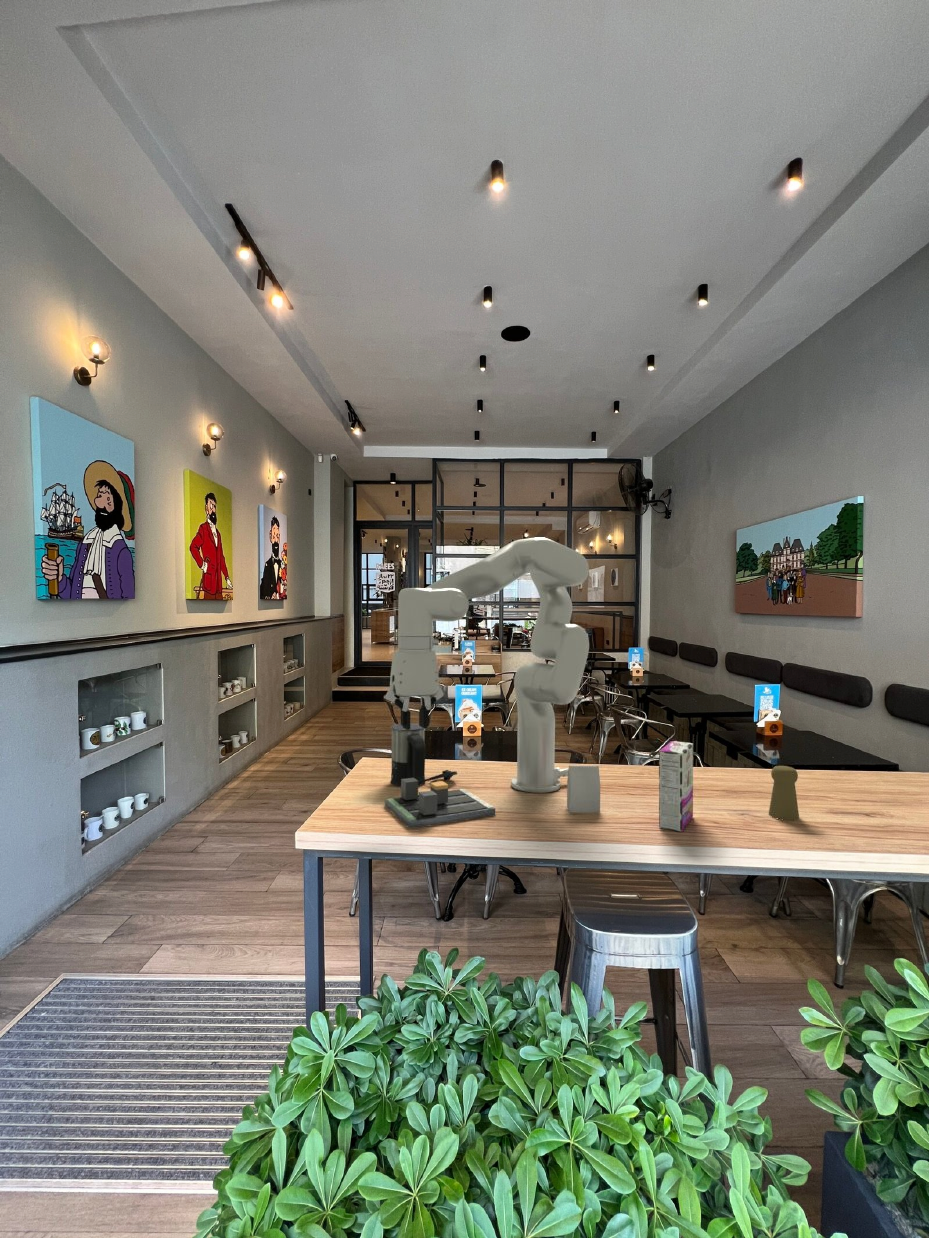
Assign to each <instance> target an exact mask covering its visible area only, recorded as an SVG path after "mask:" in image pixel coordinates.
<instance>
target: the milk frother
mask: <svg viewBox="0 0 929 1238" xmlns="http://www.w3.org/2000/svg"><path fill="white" fill-rule="evenodd" d="M389 728H390V729H391V737H390V738H391V739H390V740H391V741H390V742H391V743H390V744H391V773H390V778H391V779H390V781H389V783H390V784H391V785H393V786H394V787H400V788H401V779H407V778H415V779H416V780H417V781H418V787H419V786H422V785H424V784H426V782H429V781H433V780H438V779H443V780H444V781H445V782H446V781H449V780H451V779H452V777H454V776H455V775H458V772H457V771H451V770H449V769H445V770H443V771H441V773H440V774H436V775H434V776H431V777H428V778H425V777H426V775H425V774H426V773H425V771H426V769H425V767H426V743H425V729H426V728H423V727H421V726H419V723H410V729H409V730H406V729H404V728H403V727H402V725H401V723H397V724H393V725H391V726H390V727H389Z"/></svg>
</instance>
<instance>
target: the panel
mask: <svg viewBox="0 0 929 1238" xmlns="http://www.w3.org/2000/svg"><path fill="white" fill-rule="evenodd" d="M384 803H385V804H384V806H385V807H386V808H387V809H388V810H389V811H390V810H391V811H392V812H393V813H394V814H395V815H394V814H393V815H394V816H395V817H396V818H397V819H399V820H400V821H401V822H402V823H403V824H404V825H405V826H406V825H407V826H408V827H409V828H408V827H407V826H406V827H407V828H408V829H410V828H412V829H417V827H418V828H423V827H422V826H424V827H430V826H429V825H431V826H437V825H442V824H443V825H444V824H448V823H447V822H450V823H454V822H455V821H456V822H460V821H467V820H466V819H468V820H475V819H479V818H486V817H491V816H493V817H494V816H496V808H495V807H494V806H493V805H492V804H490V803H488V802H486V801H484V799H482V798H480V797H478V796H477V795H475V794H473V793H471V792H470V791H468V790H467V789H465V788H458V789H453V790H448V803H442V804H437V813H436V814H429V815H423V814H422V813H421V812H419V794H418V799H411V800H405V799H404V798H402V797H401V796H399V797H391V798H386V799H385V800H384ZM391 811H390V812H391ZM392 812H391V813H392ZM456 822H455V823H456Z"/></svg>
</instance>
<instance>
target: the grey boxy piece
mask: <svg viewBox="0 0 929 1238" xmlns="http://www.w3.org/2000/svg"><path fill="white" fill-rule="evenodd" d="M568 769H569V770H568V776H567V782H566V808H567V811H568V812H569V813H573V814H577V813H587V814H588V813H589V814H590V813H591V814H592V812H593V813H594V812H600V813H601V780H600V779H601V778H600V766H599V765H568Z"/></svg>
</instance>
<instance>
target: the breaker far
mask: <svg viewBox="0 0 929 1238" xmlns="http://www.w3.org/2000/svg"><path fill="white" fill-rule="evenodd" d="M400 793H401V794H400V797H402V798H404V799H405V800H411V799H418V795H419V786H418V781H417V780H416V779H415V778H407V779H401V787H400Z"/></svg>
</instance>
